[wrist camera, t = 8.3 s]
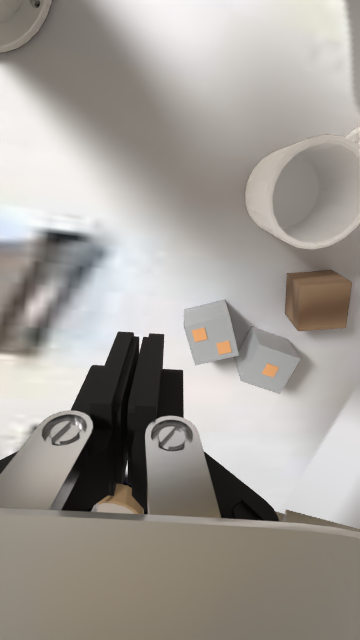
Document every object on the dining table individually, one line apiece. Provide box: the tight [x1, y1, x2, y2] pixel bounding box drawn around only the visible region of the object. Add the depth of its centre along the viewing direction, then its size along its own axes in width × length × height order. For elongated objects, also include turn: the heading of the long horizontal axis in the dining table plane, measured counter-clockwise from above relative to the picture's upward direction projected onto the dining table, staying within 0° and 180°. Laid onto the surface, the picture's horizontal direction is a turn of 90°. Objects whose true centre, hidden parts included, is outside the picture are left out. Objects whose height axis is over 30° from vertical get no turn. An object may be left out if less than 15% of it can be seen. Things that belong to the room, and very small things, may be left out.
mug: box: [245, 126, 360, 250], centre depth 28 cm, size 8×12×10 cm
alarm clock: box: [97, 484, 143, 514], centre depth 50 cm, size 11×5×15 cm
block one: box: [235, 326, 301, 394], centre depth 38 cm, size 5×5×5 cm
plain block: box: [285, 270, 352, 331], centre depth 35 cm, size 5×5×5 cm
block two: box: [184, 300, 239, 365], centre depth 37 cm, size 5×5×5 cm
